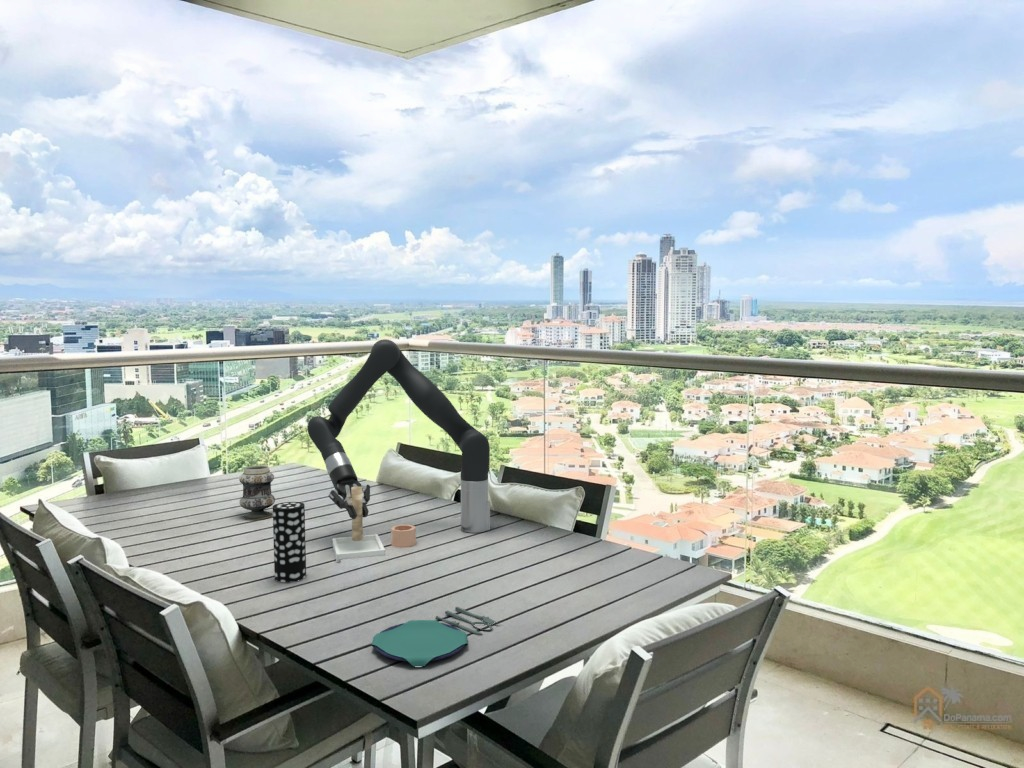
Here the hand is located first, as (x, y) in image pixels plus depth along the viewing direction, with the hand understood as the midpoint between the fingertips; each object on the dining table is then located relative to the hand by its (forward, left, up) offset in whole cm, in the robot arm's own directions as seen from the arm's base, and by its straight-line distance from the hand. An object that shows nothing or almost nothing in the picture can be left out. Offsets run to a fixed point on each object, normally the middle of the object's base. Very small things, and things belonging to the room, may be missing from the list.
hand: (360, 516), depth 222 cm
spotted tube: (+21, +15, -12) cm, 28 cm away
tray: (+1, -2, -11) cm, 12 cm away
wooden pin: (+1, -2, -7) cm, 8 cm away
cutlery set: (-9, +66, -12) cm, 68 cm away
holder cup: (-13, -3, -11) cm, 18 cm away
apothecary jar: (+31, -55, -12) cm, 64 cm away
